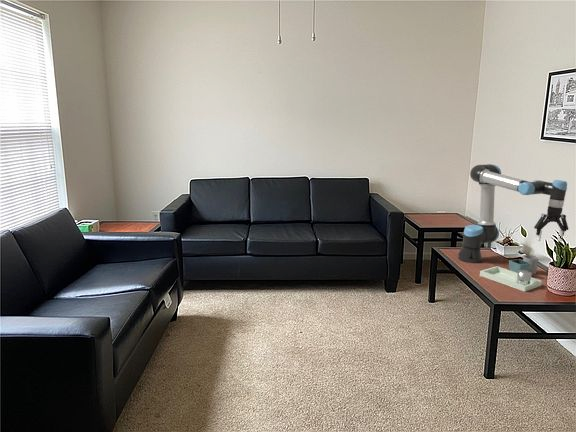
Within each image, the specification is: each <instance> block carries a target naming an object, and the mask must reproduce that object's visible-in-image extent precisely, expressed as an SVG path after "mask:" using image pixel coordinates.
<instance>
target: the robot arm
mask: <svg viewBox="0 0 576 432" xmlns="http://www.w3.org/2000/svg"><path fill="white" fill-rule="evenodd" d="M469 175H470V178H471V179H472V181H474V182H476V183H478V185H479V186H480V207H479V208H480V210H479V211H480V212H479V221H478V222H477V224H469V225H466V226H465V227H464V230H463V238H462V245H461V248H460V251H459V252H458V254H457V258H458V260H460V261H462V262H466V263H472V264H478V263H481V262H482V260H483V257H482V252H481V249H482V248H481V247H482V244H490V243H493V242H496V241H497V239H499V237H500V230H499V229H498V227H497V223H496V222H495V221H494V217H495V216H494V215H495V214H494V213H495V211H494V210H495V193H496V192H495V190H496V189H495V188H496V186H497V187H499V188H503V189H507V190H511V191H514V192H517V193H520V195H523V196H530V195H547V196H549V198H548V200H549V201H548V206H547V211H546V212H547V213H546V214H545V213H541V215H540V218H539V219H538V220H537V222H536V223H535V225H534V226H533V228H534V229H536V233H535V234H536V238H535V239H536V241H538V242H541V239H542V233H543V229H544V227H546V226H547V225H548V224H549V223H556V224H557V226H558V227H559V231H558V236H557V241H558V242H562V240H563V236H564V234H565V232H566V231H569V225H568V223H567V219H566V217H567V215H566V214H564V213H563V207H564V203H565V198H566V193H567V190H568V182H567V181H565V180H559V179H554V180H553V181H552V182H550V181H549V182H548V181H544V180H538V179H535V180H533V181H527V180H523V179H520V178H516V177H512V176H508V175H505V174H502V171H501V168H500V167H499V166H498V165H496V164H492V163H491V164H478V165H477V164H476V165H475V166H473V167H472V168H471V169H470V172H469ZM560 219H561V220H560ZM559 235H560V236H561V238H562V240H561V239H560V236H559Z"/></svg>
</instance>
